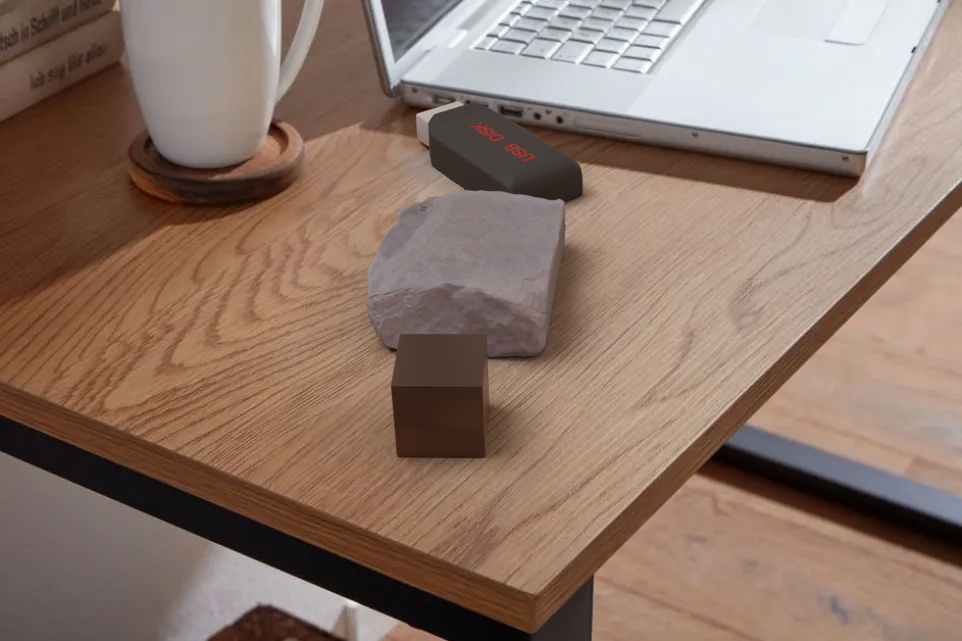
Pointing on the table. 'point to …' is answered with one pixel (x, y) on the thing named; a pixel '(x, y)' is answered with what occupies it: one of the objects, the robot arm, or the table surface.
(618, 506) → the table surface
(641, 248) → the table surface
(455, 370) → the walnut block
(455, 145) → the usb drive
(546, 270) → the stone block
